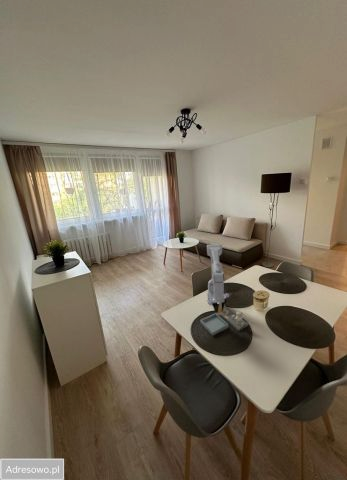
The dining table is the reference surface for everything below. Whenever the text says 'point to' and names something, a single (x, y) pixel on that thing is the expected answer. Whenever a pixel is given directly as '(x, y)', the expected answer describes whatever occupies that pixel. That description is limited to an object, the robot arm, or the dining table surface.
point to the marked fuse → (219, 308)
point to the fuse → (239, 317)
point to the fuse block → (232, 319)
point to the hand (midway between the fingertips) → (218, 310)
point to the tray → (214, 324)
